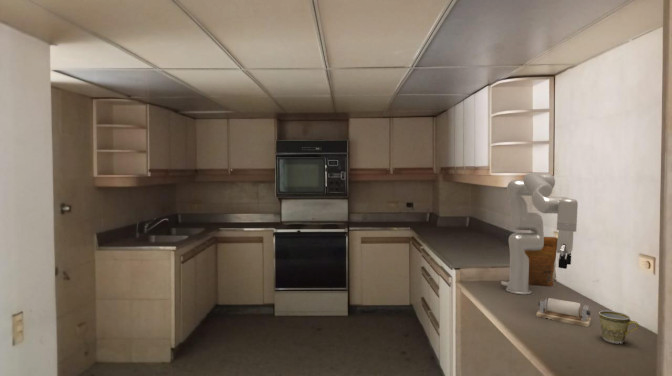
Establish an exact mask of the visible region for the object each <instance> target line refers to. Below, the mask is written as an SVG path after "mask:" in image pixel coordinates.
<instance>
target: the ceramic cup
mask: <svg viewBox="0 0 672 376" xmlns="http://www.w3.org/2000/svg"><path fill="white" fill-rule="evenodd" d="M598 316H599V323H600V329H601V335H602V337H601V338H602V339H603V340H604V341H605V342H608V343H611V344H614V343H615V345H617V344H619V343H620V344H619V345H623V342H624V343H625V339H626V336H627V334H630V333H631V332H633V331H636V330H637V329H639V327H640V326H639V323H638V322H637V321H635V320H631V317H630V316H629V315H628V314H626V313H623V312H620V311H612V310H601V311H599V312H598ZM630 320H631V321H630ZM631 324H636V328H633V329H630V330H628V328H629V326H630V325H631Z"/></svg>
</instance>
